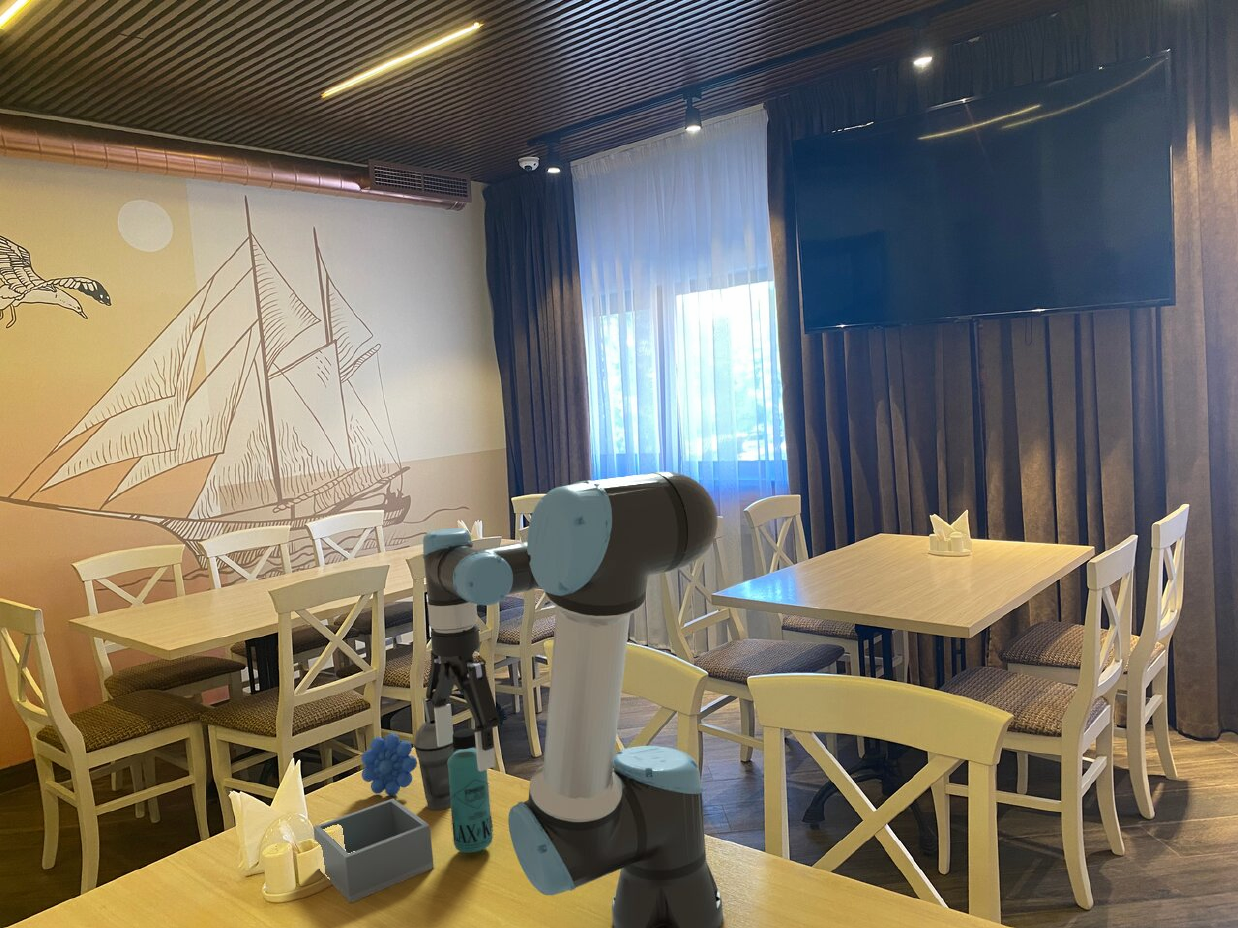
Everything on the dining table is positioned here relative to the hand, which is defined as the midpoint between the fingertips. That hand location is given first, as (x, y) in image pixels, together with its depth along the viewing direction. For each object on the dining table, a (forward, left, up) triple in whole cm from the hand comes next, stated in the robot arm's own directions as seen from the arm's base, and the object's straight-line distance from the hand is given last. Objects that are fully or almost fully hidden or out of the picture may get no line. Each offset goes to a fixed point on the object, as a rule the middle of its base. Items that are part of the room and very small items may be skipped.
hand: (465, 755), depth 146 cm
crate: (+7, +14, -16) cm, 22 cm away
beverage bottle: (0, 0, -16) cm, 16 cm away
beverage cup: (+20, -4, -16) cm, 26 cm away
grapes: (+31, 0, -16) cm, 35 cm away
